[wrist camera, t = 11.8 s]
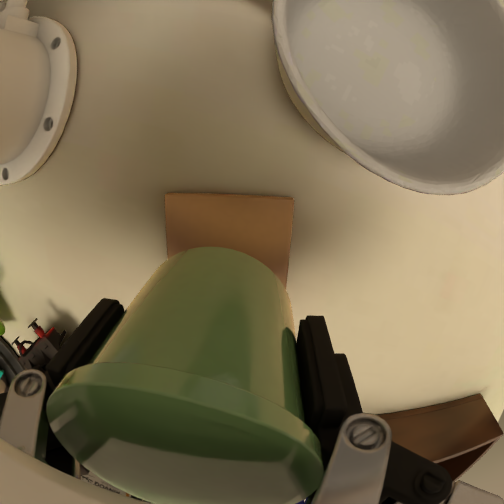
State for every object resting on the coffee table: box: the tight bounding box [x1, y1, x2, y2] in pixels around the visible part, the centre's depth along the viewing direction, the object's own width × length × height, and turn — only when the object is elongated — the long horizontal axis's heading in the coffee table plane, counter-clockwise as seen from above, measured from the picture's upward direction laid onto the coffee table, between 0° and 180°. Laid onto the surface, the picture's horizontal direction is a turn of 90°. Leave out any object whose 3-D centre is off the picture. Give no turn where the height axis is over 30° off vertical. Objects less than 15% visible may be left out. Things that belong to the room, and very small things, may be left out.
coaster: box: [165, 193, 294, 289], centre depth 17 cm, size 7×7×1 cm
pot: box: [46, 247, 324, 504], centre depth 8 cm, size 7×7×7 cm
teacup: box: [272, 0, 504, 195], centre depth 9 cm, size 14×11×8 cm
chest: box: [377, 394, 503, 482], centre depth 22 cm, size 15×15×7 cm
